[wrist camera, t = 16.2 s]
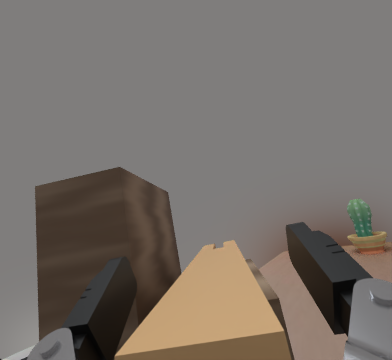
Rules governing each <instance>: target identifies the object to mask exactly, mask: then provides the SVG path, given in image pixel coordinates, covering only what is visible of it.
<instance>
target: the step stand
mask: <svg viewBox="0 0 392 360" xmlns="http://www.w3.org/2000/svg"><path fill="white" fill-rule="evenodd" d="M35 199H36V235H37V236H36V237H37V273H38V274H37V275H38V310H39V311H38V312H39V342H40V341H41V340H42V339H43V338H44V337H45V336H47V335H48V334H50V333H51V332H53V331H55V330H57V329H60V328H61V327H62V325H63V324H64V322H65V321H66V319H67V317H68V316H69V314H70V313H71V311H72V310H73V308H74V306H75V305H76V303H77V302H78V300H79V299H80V297H81V295H82V294H83V292H84V291H85V289H86V288H87V286H88V285H89V283H90V281H91V280H92V279H93V278H94V277H95V276H96V275H97V274H98V273H99V272H100V271H102V270H103V269H104V267H105V266H106V264H107V262H108V261H109V260H110V259H113V258H119V257H124V256H125V257H127V259H128V261H129V263H130V266H131V268H132V271H133V273H134V276H135V278H136V281H137V293H136V296H135V299H134V302H133V305H132V308H131V311H130V313H129V316H128V319H127V322H126V325H125V328H124V331H123V334H122V336H121V339H120V342H119V345H118V348H117V351H116V354H117V352H118V351H119V350H120V349H121V347H122V346H123V345H124V344H125V343H126V341H127V340H128V339H129V338H130V336H131V335H132V334H133V333H134V332H135V330H136V329H137V328H138V327H139V325H140V324H141V323H142V322H143V321H144V319H145V318H146V317H147V316H148V314H149V313H150V312H151V311H152V309H153V308H154V307H155V306H156V305H157V303H158V302H159V301H160V300H161V298H162V297H163V296H164V295H165V294H166V292H167V291H168V290H169V289H170V287H171V286H172V285H173V284H174V283H175V281H176V280H177V279H178V278H179V276H180V275H181V269H180V262H179V257H178V250H177V245H176V238H175V233H174V226H173V220H172V215H171V209H170V202H169V196H168V192H166V191H164V190H162V189H161V188H159V187H157V186H155V185H153V184H151V183H149V182H147V181H145V180H144V179H141V178H140V177H138V176H136V175H134V174H132V173H130V172H128V171H126V170H125V169H123V168H121V167H118V168H113V169H109V170H104V171H100V172H96V173H91V174H87V175H83V176H78V177H74V178H70V179H65V180H61V181H57V182H52V183H48V184H44V185H40V186H36V187H35ZM245 261H246V263H247V264H248V266H249V268H250V270H251V272H252V273H253V275H254V277H255V279H256V281H257V283H258V284H259V286H260V288H261V290H262V292H263V293H264V295H265V297H266V299H267V301H268V302H269V304H270V306H271V308H272V310H273V311H274V313H275V315H276V317H277V319H278V320H279V322H280V324H281V326H282V328H283V329H284V332H285V336H286V340H287V344H288V348H289V352H290V356H291V360H294V356H293V352H292V348H291V344H290V340H289V336H288V332H287V328H286V324H285V320H284V317H283V313H282V309H281V305H280V301H279V298H278V296H277V295H276V294H275V292H274V291H273V289H272V288H271V287H270V285H269V284H268V282H267V281H266V280H265V278H264V277H263V275H262V274H261V273H260V271H259V270H258V269H257V267H256V266H255V264H254V263H253V262H252V260H251V259H247V260H245ZM116 354H115V355H116ZM114 360H115V357H114Z"/></svg>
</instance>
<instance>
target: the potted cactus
mask: <svg viewBox="0 0 392 360" xmlns="http://www.w3.org/2000/svg"><path fill="white" fill-rule="evenodd" d="M347 211H348V213H349V216H350V218H351V219H352V221H353V222H354V226H355V230H356V234H354V235H350V236H348V239H349V240H350V241H352V243H353V244H354V245H355V247H357V248H358V249H359V250H360V252H361V254H378V253H382V252H384V250H383V248H384V245H385V240H386V237H387V233H386V232H372V228H371V211H370V207H369V205H367V204H366V203H365V202H364V201H362V200H361V199H358V200H357V199H355V200H350V202H349V204H348V207H347Z"/></svg>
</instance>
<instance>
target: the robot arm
mask: <svg viewBox="0 0 392 360" xmlns="http://www.w3.org/2000/svg"><path fill="white" fill-rule="evenodd" d="M286 234H287V242H288V251H289V256H290V259H291V262H292V264H293V266H294V268H295V269H296V271H297V273H298V274H299V276H300V278H301V279H302V281H303V283H304V284H305V286H306V288H307V289H308V291H309V293H310V294H311V296H312V298H313V299H314V301H315V303H316V304H317V306H318V308H319V309H320V311H321V313H322V314H323V316H324V318H325V319H326V321H327V323H328V324H329V326H330V328H331V329H332V331H333V333H334V334H335V335H336V334H343V333H346V335H347V336H348V341H346V344H345V351H344V359H343V360H392V283H390V282H388V281H384V280H381V279H374V278H373V277H372V276H371V275H370V274H369V273H368V272H366V271H365V270H364V269H363V268H362V267H361V266H360V265H359V264H358V263H357V262H356V261H355V260H354V259H353V258H352V257H351V256H350V255H349V254H348V253H347V252H345V251H344V249H343V248H342V247H341V246H340V245H338V244H337V243H336V242H335V241H334V240H333V239H332V238H331V237H330V236H329V235H327V234H324V233H323V232H321V231H313V232H312V231H311V229H310V228H308V226H307V225H306V224H305V223H304V222H300V223H295V224H290V225H286ZM136 293H137V281H136V278H135V276H134V273H133V271H132V268H131V266H130V263H129V261H128V259H127V257H125V256H124V257H119V258H113V259H110V260H109V261H108V262H107V264H106V266H105V267H104V269H103V270H102V271H100V272H99V273H98V274H97V275H96V276H95V277H94V278H93V279H92V280H91V281H90V283H89V285H88V286H87V288H86V289H85V291H84V292H83V294H82V295H81V297H80V299H79V300H78V302H77V303H76V305H75V306H74V308H73V310H72V311H71V313H70V314H69V316H68V317H67V319H66V321H65V322H64V324H63V325H62V327H61V328H60V329H57V330H55V331H53V332H51V333H50V334H48V335H47V336H45V337H44V338H43V339H42V340H41V341H40V342H39V343H38V344H37V345H36V346H35V347H34V348H33V349H32V351H31V352H30V354H29V356H28V357H26V358H24V359H21V360H114V357H115V354H116V351H117V348H118V345H119V342H120V339H121V336H122V334H123V331H124V328H125V325H126V322H127V319H128V316H129V313H130V311H131V308H132V305H133V302H134V299H135V296H136ZM0 360H1V359H0Z"/></svg>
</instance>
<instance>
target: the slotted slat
mask: <svg viewBox="0 0 392 360" xmlns="http://www.w3.org/2000/svg"><path fill="white" fill-rule="evenodd" d="M115 360H291V356H290V352H289V348H288V344H287V340H286V336H285V332H284V329H283V328H282V326H281V324H280V322H279V320H278V319H277V317H276V315H275V313H274V311H273V310H272V308H271V306H270V304H269V302H268V301H267V299H266V297H265V295H264V293H263V292H262V290H261V288H260V286H259V284H258V283H257V281H256V279H255V277H254V275H253V273H252V272H251V270H250V268H249V266H248V264H247V263H246V261H245V259H244V257H243V255H242V254H241V252H240V250H239V248H238V246H237V245H236V243H235V241H234V240H232V241H227V242H224V247H223V248H217V249H216V247H215V244H211V245H206V246H204V247H203V248H202V249H201V251H200V252H199V253H198V254H197V256H196V257H195V258H194V259H193V261H192V262H191V263H190V264H189V265H188V267H187V268H186V269H185V270H184V271H183V273H182V274H181V275H180V276H179V278H178V279H177V280H176V281H175V283H174V284H173V285H172V286H171V287H170V289H169V290H168V291H167V292H166V294H165V295H164V296H163V297H162V298H161V300H160V301H159V302H158V303H157V305H156V306H155V307H154V308H153V309H152V311H151V312H150V313H149V314H148V316H147V317H146V318H145V319H144V321H143V322H142V323H141V324H140V325H139V327H138V328H137V329H136V330H135V332H134V333H133V334H132V335H131V336H130V338H129V339H128V340H127V341H126V343H125V344H124V345H123V346H122V347H121V349H120V350H119V351H118V352H117V354H116V355H115Z"/></svg>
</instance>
